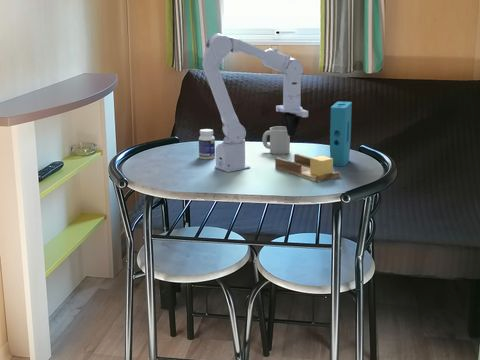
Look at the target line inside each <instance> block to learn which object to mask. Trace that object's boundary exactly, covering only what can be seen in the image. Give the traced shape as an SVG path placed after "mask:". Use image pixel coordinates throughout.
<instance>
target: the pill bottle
mask: <svg viewBox="0 0 480 360" xmlns="http://www.w3.org/2000/svg"><path fill="white" fill-rule="evenodd" d="M199 134H200V135H199V137H198V158H199V159H201V160H202V159H203V160H212V159H214V158H216V141H215V140H216V138H215V136H214V129H211V128H203V129H202V128H201V129H199Z"/></svg>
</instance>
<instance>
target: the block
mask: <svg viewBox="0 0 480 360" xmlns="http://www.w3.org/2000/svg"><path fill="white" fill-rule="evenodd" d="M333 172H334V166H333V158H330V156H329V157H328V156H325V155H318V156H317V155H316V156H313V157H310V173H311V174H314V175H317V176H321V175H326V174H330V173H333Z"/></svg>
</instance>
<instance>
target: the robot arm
mask: <svg viewBox="0 0 480 360" xmlns="http://www.w3.org/2000/svg"><path fill="white" fill-rule="evenodd" d="M204 46H205V47H204V53H203V58H202V63H201V66H202V68H203V71H204V73H205V77H206V80H207V82H208V86H209V87H210V90H211V93H212V96H213V98H214V101H215V104H216V106H217V110H218V112H219V115H220V119H221V122H222V133H223V134H224V138H223V140H222V142H221V143H219V144H217V145H216V146H215V165H214V167H215V169H218V170H221V171H224V172H227V173H229V172H236V171H241V170H245V169H249V168H251V165H248V164H246V139H245V138H246V135H247V131H246V128H245V127H244V126H243V125H242V124H241V123H240V120H239V118H238V116H237V114H236V112H235V109H234V107H233V103H232V101H231V97H230V95H229V92H228V90H227V87H226V84H225V82H224V79H223V76H222V72H221V71H220V70H221V69H220V65H221V63H222V62H223V60H224V59H225V57H227V56H228V55H229V53H238V52H241V53H243V54H247V55H249V56H252V57H254V58H256V59H259V60H261V63H262V64H263V66H264V67H267V68H270V69H272V70H274V71H277V72H280V73H283V85H282V86H283V88H282V89H283V91H282V93H283V94H282V95H283V96H282V97H283V98H282V101H283V103H282V104H280V105H275V111H276V112H277V113H279V112H280V113H283V114H281V116H280V117H281V119H282V121H283V122H284V125H285V127H286V129H287V133H288V136H290V137H292V136H296V133H297V129H298V126H299V123H300V121H301V119H302V118H309V110H306V109H303V107H302V106H301V102H302V101H301V92H302V91H301V89H302V88H301V85H302V81H301V79H302V78H301V75H302V74H303V72H304V67H303V63H301V61H300V60H298V59H296V58H294V57H292V56H291V55H290V54H288V53H287V54H284V53H282V52H280V51H279V49H277V48H275V47H273V48H268V49H265V50H264V49H262V48H260V47H258V46H255V45H253V44H251V43H249V42H247V41H244V40H242V39H241V38H238V37H237V38H236V37H235V36H234V37H233V36H229V35H224V34H222V33H218V32H216V33H213V34H212V35H210V36H209V38H208V40H207V41H206V43H205V45H204Z"/></svg>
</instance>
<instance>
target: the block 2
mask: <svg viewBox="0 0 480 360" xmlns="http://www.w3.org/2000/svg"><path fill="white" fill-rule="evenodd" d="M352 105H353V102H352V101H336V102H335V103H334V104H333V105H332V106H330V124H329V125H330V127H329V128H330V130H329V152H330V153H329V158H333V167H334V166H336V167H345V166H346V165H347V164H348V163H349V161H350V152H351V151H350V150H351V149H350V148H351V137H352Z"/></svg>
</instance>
